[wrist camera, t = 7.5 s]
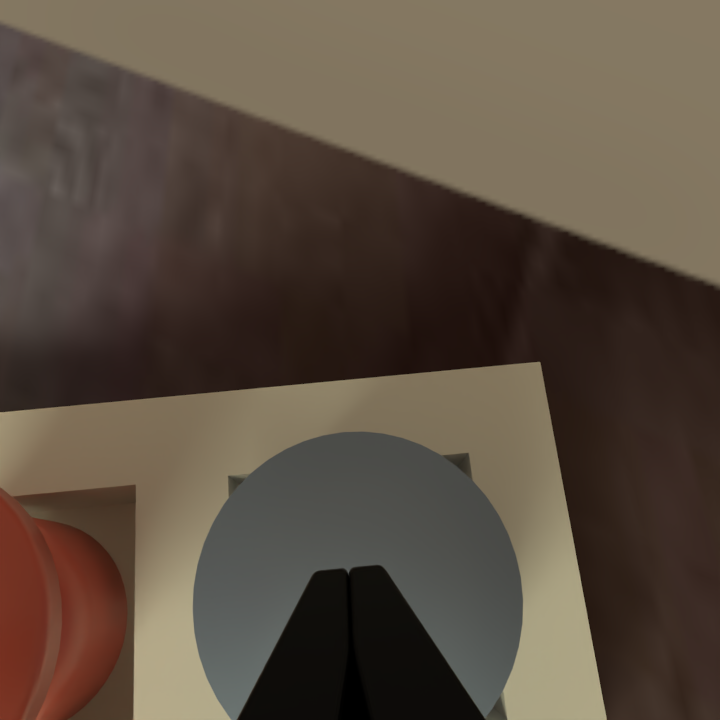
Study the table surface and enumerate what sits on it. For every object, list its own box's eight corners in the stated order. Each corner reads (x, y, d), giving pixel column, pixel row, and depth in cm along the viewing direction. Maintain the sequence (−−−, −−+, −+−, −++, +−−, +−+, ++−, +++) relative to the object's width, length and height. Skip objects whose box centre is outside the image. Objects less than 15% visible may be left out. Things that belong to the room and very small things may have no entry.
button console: (571, 772, 18) (626, 824, 14) (-440, 876, 17) (-669, 959, 13) (509, 402, 21) (540, 361, 17) (-349, 483, 20) (-514, 460, 17)
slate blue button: (490, 703, 17) (550, 763, 11) (254, 726, 17) (195, 800, 11) (457, 467, 19) (495, 417, 13) (244, 487, 19) (190, 446, 13)
